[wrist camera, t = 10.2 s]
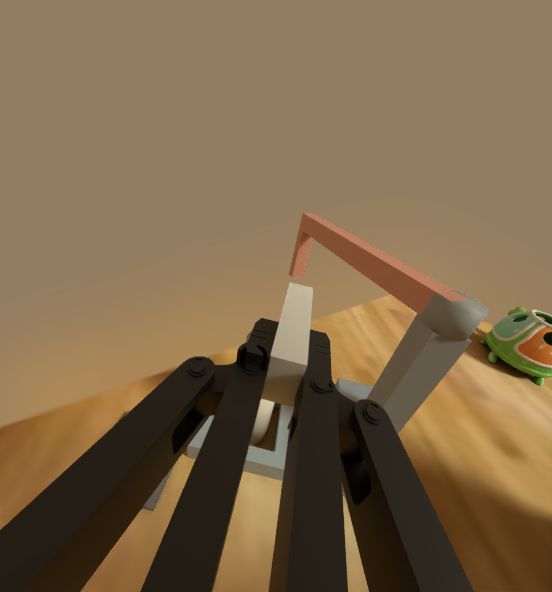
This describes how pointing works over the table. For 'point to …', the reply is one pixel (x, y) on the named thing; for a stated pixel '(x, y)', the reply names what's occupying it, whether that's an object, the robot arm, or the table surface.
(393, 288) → the pink bent bar
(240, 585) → the table surface
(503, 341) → the turtle holder
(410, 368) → the dock
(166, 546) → the robot arm
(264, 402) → the bottle
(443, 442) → the table surface
